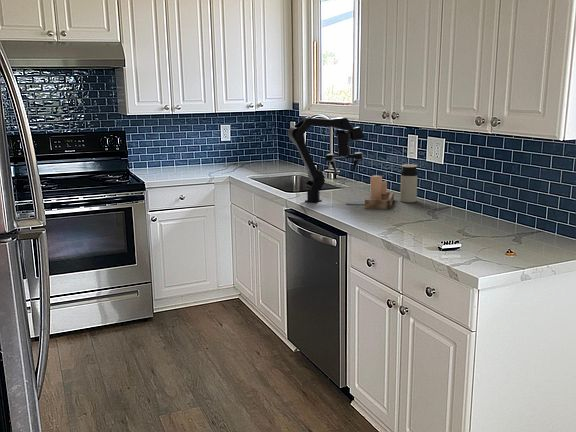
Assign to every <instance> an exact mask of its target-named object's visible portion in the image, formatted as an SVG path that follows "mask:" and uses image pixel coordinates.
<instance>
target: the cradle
mask: <svg viewBox="0 0 576 432" xmlns="http://www.w3.org/2000/svg"><path fill="white" fill-rule="evenodd" d="M394 196H395V191H387V194H382V200H373V199H370V198H369V199H367V198H365V199H364V200H365V205H364V209H379V210H380V209H381V210H384V209H385V210H390V209H391V207H392V204H393V202H394V199H395V197H394Z"/></svg>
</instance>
